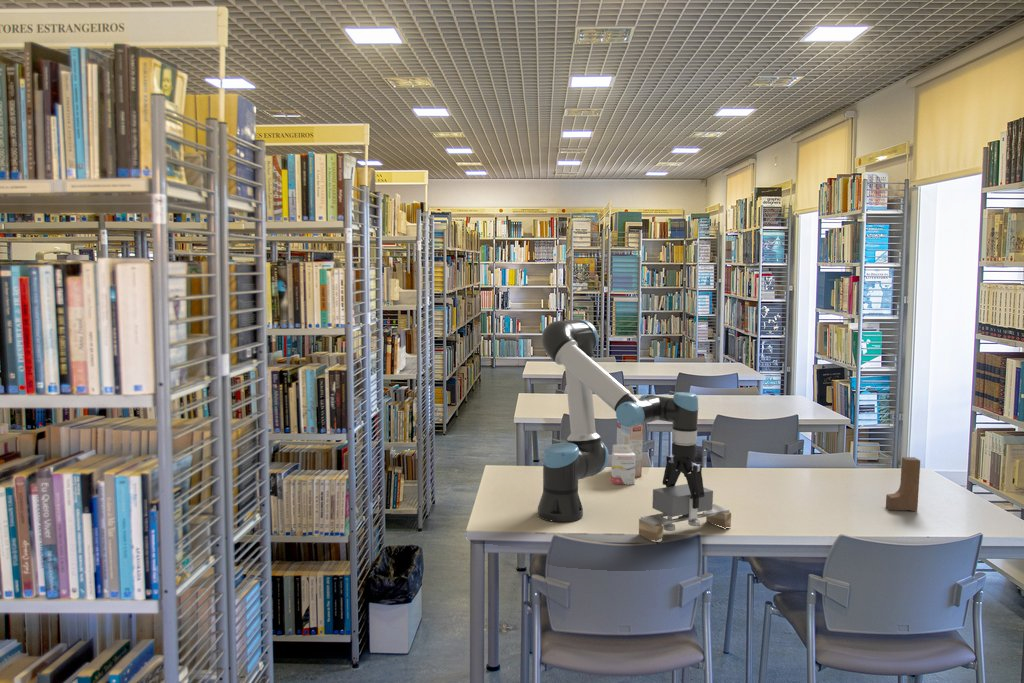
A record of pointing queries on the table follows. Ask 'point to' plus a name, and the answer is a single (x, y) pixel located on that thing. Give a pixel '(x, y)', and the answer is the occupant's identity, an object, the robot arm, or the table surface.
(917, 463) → the wooden block
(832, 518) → the table surface
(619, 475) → the ink cartridge box
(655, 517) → the keyhole board
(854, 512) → the table surface
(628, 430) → the cracker box
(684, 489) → the grey box orange tab
